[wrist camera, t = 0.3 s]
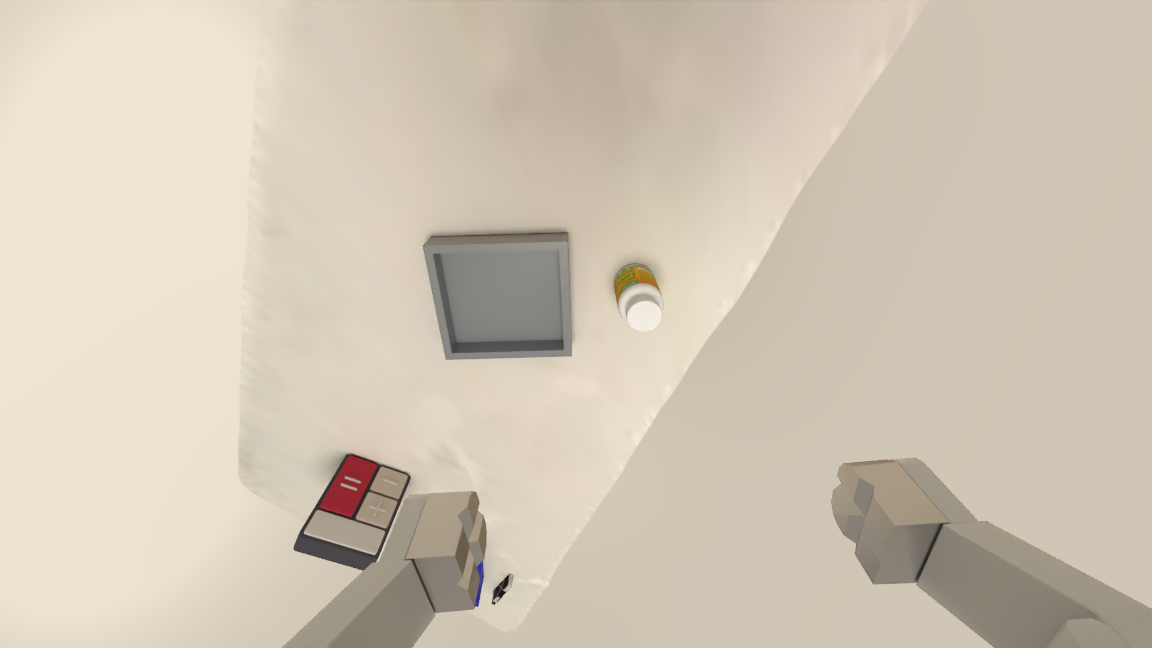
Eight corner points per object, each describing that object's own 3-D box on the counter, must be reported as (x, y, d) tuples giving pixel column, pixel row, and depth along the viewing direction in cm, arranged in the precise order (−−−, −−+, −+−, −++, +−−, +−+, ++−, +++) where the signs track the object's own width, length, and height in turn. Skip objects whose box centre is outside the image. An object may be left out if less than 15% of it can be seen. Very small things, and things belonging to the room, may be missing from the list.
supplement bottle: (629, 255, 57) (639, 286, 48) (662, 276, 58) (678, 310, 50) (605, 288, 59) (611, 323, 50) (638, 307, 60) (649, 345, 52)
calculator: (413, 473, 75) (379, 556, 62) (404, 488, 77) (370, 573, 64) (348, 450, 73) (298, 532, 59) (341, 467, 74) (291, 550, 61)
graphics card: (495, 591, 92) (493, 606, 90) (492, 590, 92) (490, 605, 89) (513, 573, 89) (511, 588, 87) (509, 572, 89) (508, 587, 86)
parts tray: (431, 236, 55) (422, 245, 52) (567, 232, 55) (567, 241, 52) (451, 346, 63) (445, 359, 60) (571, 342, 63) (571, 356, 60)
